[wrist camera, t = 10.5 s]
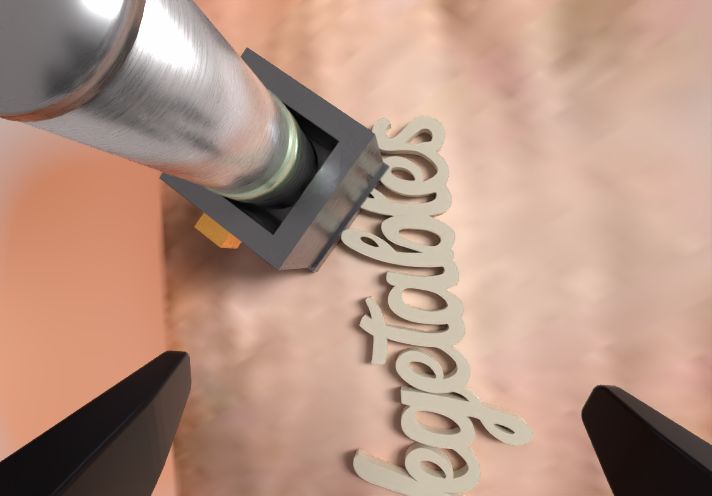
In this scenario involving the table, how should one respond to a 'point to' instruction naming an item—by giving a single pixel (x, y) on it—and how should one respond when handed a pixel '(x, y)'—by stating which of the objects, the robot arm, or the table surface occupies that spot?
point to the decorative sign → (429, 392)
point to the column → (152, 94)
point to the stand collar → (320, 199)
